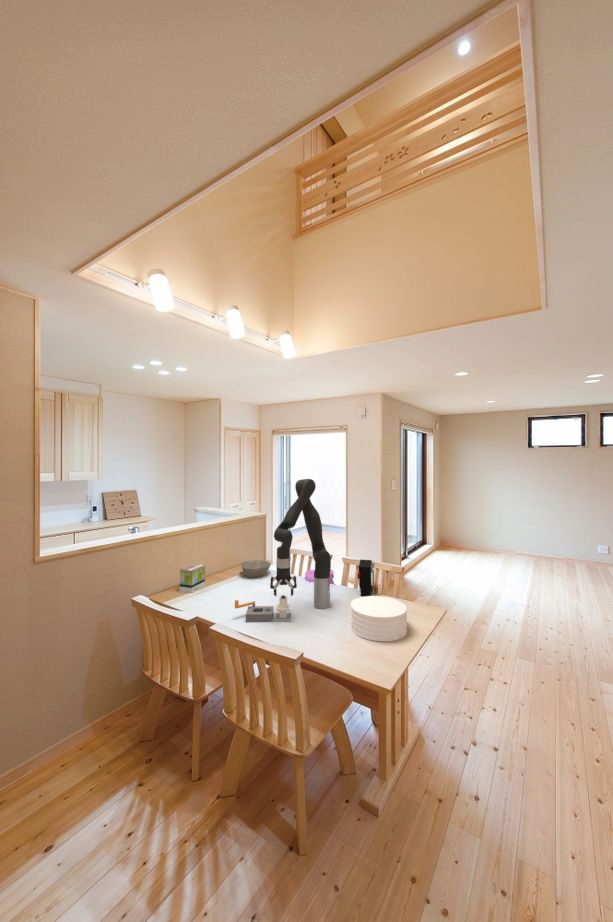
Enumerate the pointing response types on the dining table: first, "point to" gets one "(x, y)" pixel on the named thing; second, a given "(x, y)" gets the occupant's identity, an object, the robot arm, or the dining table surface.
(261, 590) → the dining table surface
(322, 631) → the dining table surface
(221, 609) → the dining table surface
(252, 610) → the grey rectangular tray
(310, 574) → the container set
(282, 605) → the plug
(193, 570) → the tea box
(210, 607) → the dining table surface
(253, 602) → the clip
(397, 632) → the plate stack
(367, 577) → the electrical component
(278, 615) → the mat
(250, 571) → the ceramic bowl
